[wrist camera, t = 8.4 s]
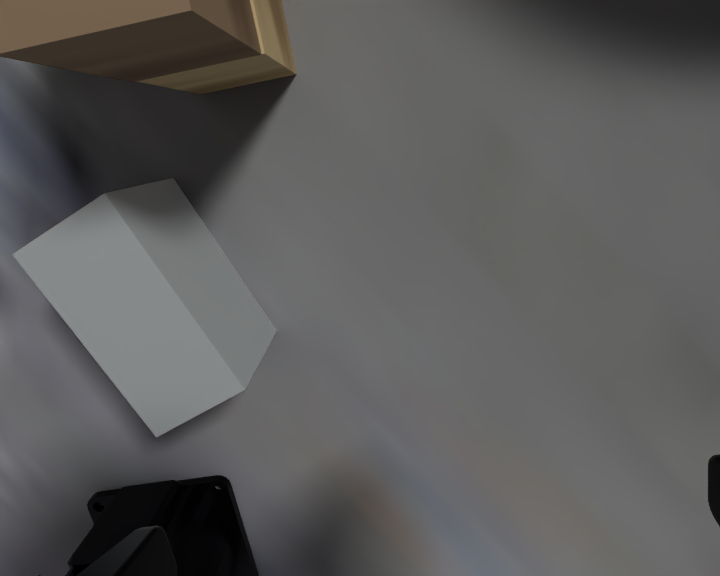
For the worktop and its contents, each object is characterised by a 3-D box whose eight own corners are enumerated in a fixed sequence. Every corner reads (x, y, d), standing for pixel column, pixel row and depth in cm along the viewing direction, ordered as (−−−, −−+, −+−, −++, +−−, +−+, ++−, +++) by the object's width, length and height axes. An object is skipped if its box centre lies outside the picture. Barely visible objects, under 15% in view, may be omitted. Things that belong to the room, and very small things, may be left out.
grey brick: (276, 330, 21) (244, 389, 16) (207, 369, 21) (156, 437, 17) (174, 177, 19) (104, 193, 14) (101, 224, 20) (12, 254, 15)
